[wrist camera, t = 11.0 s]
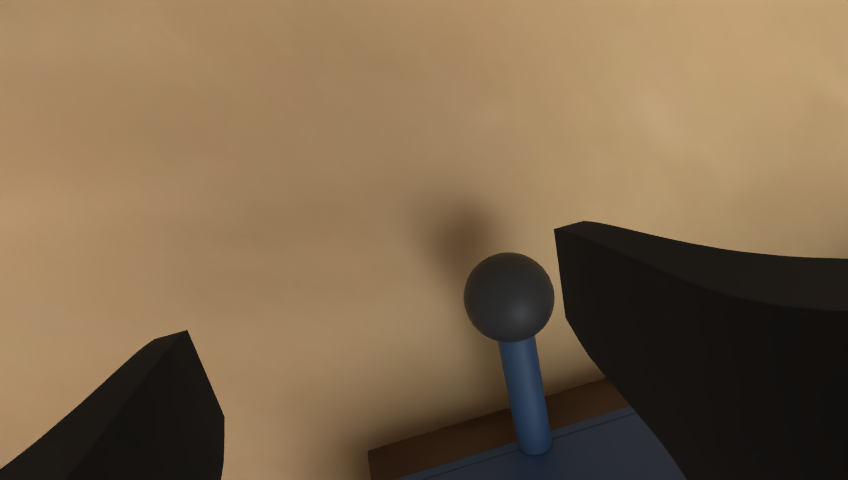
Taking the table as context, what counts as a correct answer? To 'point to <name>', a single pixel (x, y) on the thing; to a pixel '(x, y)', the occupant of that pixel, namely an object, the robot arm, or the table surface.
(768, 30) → the table surface
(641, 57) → the table surface
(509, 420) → the stand
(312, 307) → the table surface
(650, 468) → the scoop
